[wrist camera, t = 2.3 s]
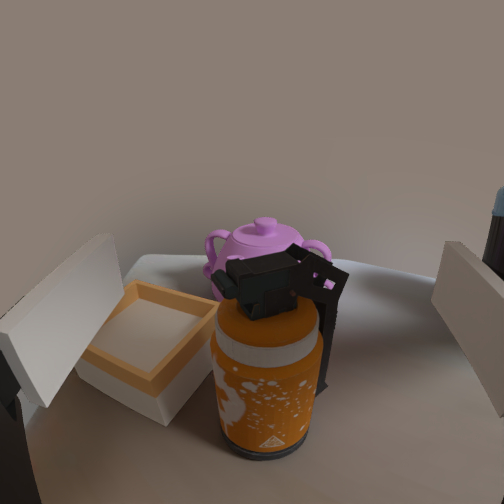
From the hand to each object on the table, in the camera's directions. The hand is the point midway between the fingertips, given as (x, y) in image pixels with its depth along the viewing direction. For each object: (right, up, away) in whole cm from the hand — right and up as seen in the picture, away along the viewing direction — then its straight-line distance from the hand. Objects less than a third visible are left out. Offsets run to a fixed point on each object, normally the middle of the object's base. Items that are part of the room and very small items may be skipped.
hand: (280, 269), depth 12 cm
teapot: (0, -8, +40) cm, 41 cm away
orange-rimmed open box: (-14, -14, +27) cm, 33 cm away
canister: (+1, -18, +19) cm, 26 cm away
